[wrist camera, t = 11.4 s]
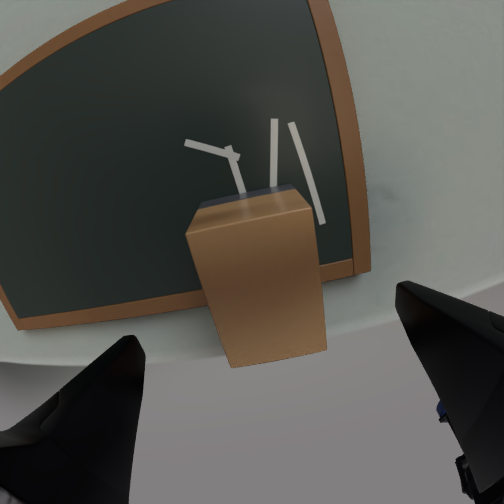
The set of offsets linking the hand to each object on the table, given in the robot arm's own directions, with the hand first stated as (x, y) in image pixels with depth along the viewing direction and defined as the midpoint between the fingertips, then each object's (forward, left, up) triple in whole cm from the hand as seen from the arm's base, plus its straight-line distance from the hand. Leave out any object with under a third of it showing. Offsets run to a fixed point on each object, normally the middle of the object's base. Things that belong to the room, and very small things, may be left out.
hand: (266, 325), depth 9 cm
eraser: (0, 0, -5) cm, 5 cm away
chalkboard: (+2, +8, -6) cm, 11 cm away
